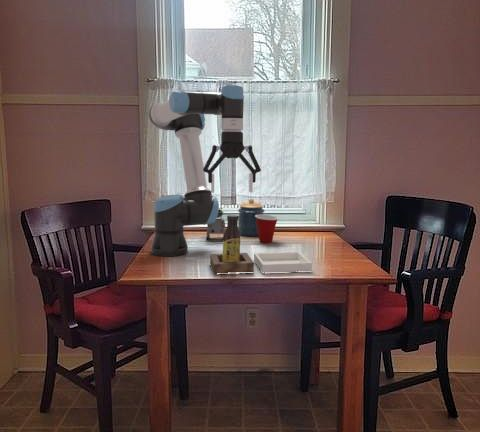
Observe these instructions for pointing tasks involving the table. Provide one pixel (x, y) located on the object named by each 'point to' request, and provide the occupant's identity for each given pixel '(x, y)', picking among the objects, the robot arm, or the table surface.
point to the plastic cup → (266, 227)
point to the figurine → (216, 226)
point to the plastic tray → (282, 262)
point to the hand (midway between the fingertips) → (231, 192)
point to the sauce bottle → (231, 240)
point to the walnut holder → (231, 264)
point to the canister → (249, 218)
